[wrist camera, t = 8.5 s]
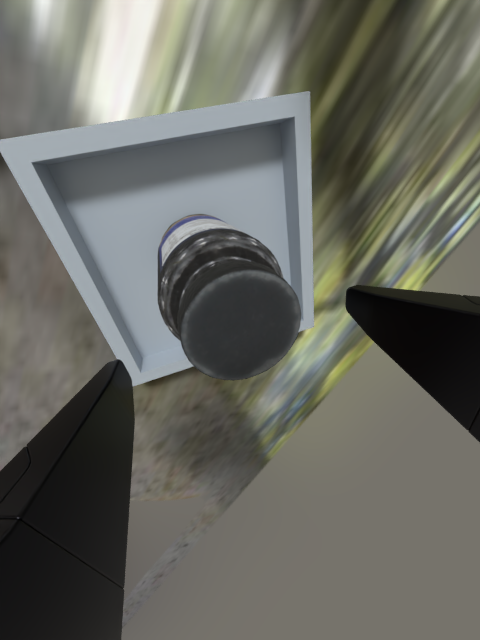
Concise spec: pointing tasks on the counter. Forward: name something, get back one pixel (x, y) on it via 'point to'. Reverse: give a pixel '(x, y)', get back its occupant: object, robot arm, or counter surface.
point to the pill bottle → (225, 298)
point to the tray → (168, 206)
